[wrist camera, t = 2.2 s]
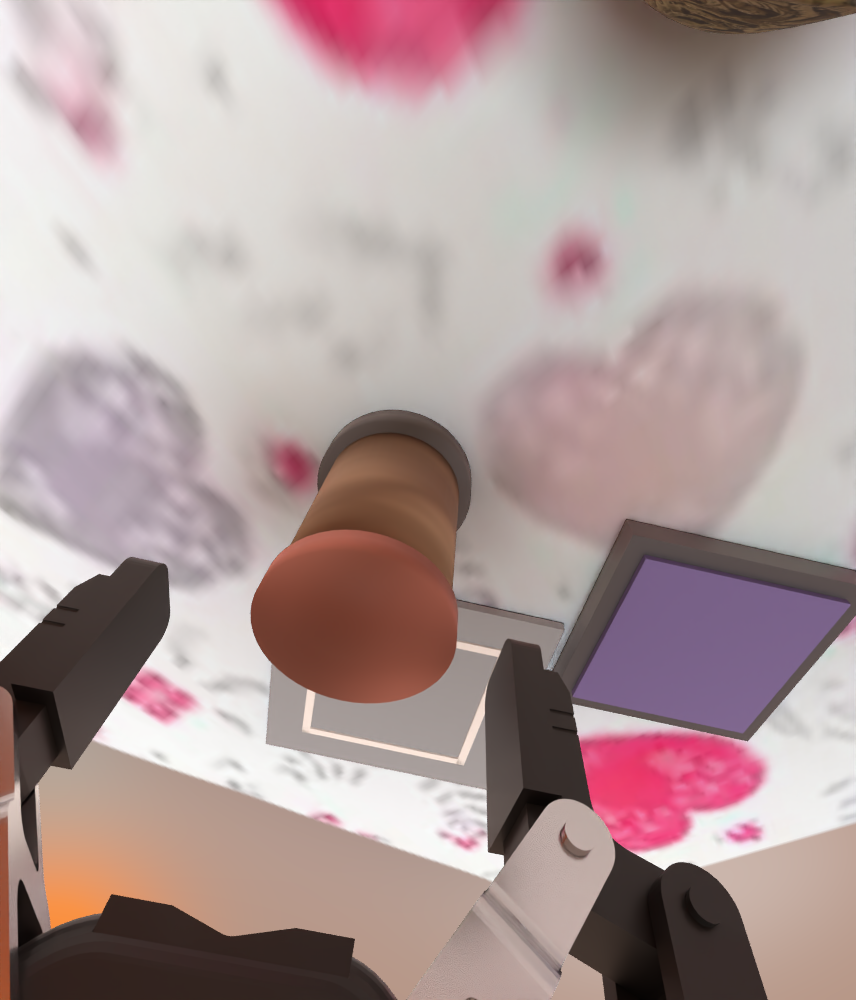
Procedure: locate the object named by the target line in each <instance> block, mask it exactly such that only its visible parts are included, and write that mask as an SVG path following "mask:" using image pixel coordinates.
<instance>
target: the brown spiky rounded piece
mask: <svg viewBox="0 0 856 1000" xmlns="http://www.w3.org/2000/svg"><path fill="white" fill-rule="evenodd" d="M644 1H645V2H646V3H647V4H648V5H649V6H651V7H652V8H653V9H655V10H656V11H658V12H659V13H661V14H662V15H664V16H666V17H667V18H669V19H672V20H674V21H676V22H678V23H681V24H683V25H685V26H687V27H691V28H694V29H698V30H702V31H706V32H714V33H723V34H744V33H761V32H767V31H774V30H780V29H785V28H791V27H797V26H801V25H806V24H811V23H815V22H820V21H824V20H828V19H832V18H837V17H841V16H845V15H849V14H853V13H856V0H644Z"/></svg>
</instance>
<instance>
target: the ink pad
mask: <svg viewBox="0 0 856 1000" xmlns="http://www.w3.org/2000/svg"><path fill="white" fill-rule="evenodd" d="M855 616H856V571H854V570H850V569H846V568H841V567H837V566H832V565H828V564H823V563H819V562H814V561H810V560H806V559H801V558H797V557H792V556H788V555H783V554H779V553H774V552H770V551H766V550H761V549H757V548H752V547H748V546H743V545H739V544H734V543H730V542H726V541H721V540H717V539H712V538H708V537H703V536H699V535H694V534H690V533H686V532H681V531H677V530H672V529H668V528H663V527H659V526H654V525H650V524H646V523H641V522H637V521H632V520H628V519H626V521H625V523H624V525H623V527H622V530H621V532H620V534H619V536H618V538H617V540H616V542H615V544H614V546H613V548H612V550H611V552H610V554H609V556H608V558H607V560H606V563H605V565H604V567H603V569H602V571H601V573H600V575H599V577H598V579H597V581H596V583H595V585H594V587H593V589H592V591H591V593H590V596H589V598H588V600H587V602H586V604H585V606H584V608H583V610H582V612H581V614H580V616H579V618H578V620H577V622H576V624H575V626H574V629H573V631H572V633H571V635H570V637H569V639H568V641H567V643H566V645H565V647H564V649H563V651H562V653H561V655H560V657H559V659H558V662H557V664H556V666H555V668H554V670H553V671H554V672H558V674H559V675H560V677H561V679H562V680H563V682H564V684H565V685H566V687H567V689H568V690H569V692H570V696H571V701H572V704H576V705H581V706H585V707H590V708H595V709H599V710H604V711H609V712H613V713H618V714H623V715H627V716H632V717H637V718H641V719H646V720H651V721H655V722H660V723H665V724H669V725H674V726H679V727H683V728H688V729H693V730H697V731H702V732H707V733H711V734H716V735H721V736H726V737H730V738H735V739H740V740H744V741H748V740H749V739H750V738H751V737H752V736H753V735H754V733H755V732H756V731H757V730H758V729H759V728H760V726H761V725H762V724H763V723H764V722H765V721H766V719H767V718H768V717H769V716H770V715H771V714H772V712H773V711H774V710H775V709H776V708H777V707H778V705H779V704H780V703H781V702H782V701H783V700H784V698H785V697H786V696H787V695H788V694H789V693H790V691H791V690H792V689H793V688H794V687H795V686H796V684H797V683H798V682H799V681H800V680H801V679H802V677H803V676H804V675H805V674H806V673H807V672H808V670H809V669H810V668H811V667H812V666H813V665H814V663H815V662H816V661H817V660H818V659H819V658H820V656H821V655H822V654H823V653H824V652H825V651H826V649H827V648H828V647H829V646H830V645H831V644H832V642H833V641H834V640H835V639H836V638H837V637H838V635H839V634H840V633H841V632H842V631H843V630H844V628H845V627H846V626H847V625H848V624H849V623H850V621H851V620H852V619H853V618H854V617H855Z"/></svg>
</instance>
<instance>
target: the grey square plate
mask: <svg viewBox="0 0 856 1000" xmlns="http://www.w3.org/2000/svg"><path fill="white" fill-rule="evenodd" d="M456 602H457V607H458V628H457V646H456V651H455V655H454V658H453V660H452V662H451V665H450V666H449V668H448V669H447V671H446V672H445V674H444V675H443V676H442V677H441V678H440V679H439V680H438V681H437V682H436V683H434V684H433V685H432V686H431V687H429V688H427V689H426V690H424V691H422V692H421V693H418V694H416V695H414V696H411V697H408V698H405V699H402V700H398V701H393V702H386V703H367V704H365V703H353V702H347V701H341V700H337V699H333V698H329V697H326V696H323V695H320V694H317V693H315V692H313V691H311V690H308V689H306V688H304V687H303V686H301V685H299V684H297V683H295V682H294V681H293V680H291V679H290V678H288V677H287V676H285V675H284V674H283V673H282V672H281V671H279V670H278V669H277V668H276V667H275V666H274V665H273V664H272V666H271V680H270V694H269V708H268V722H267V735H266V744H269V745H274V746H279V747H284V748H288V749H293V750H298V751H303V752H308V753H313V754H317V755H322V756H327V757H332V758H337V759H341V760H346V761H351V762H356V763H361V764H365V765H370V766H375V767H380V768H385V769H389V770H394V771H399V772H404V773H409V774H413V775H418V776H423V777H428V778H433V779H437V780H442V781H447V782H452V783H457V784H461V785H466V786H471V787H476V788H481V789H485V790H487V784H486V740H485V697H486V690H487V686H488V682H489V679H490V677H491V674H492V672H493V670H494V667H495V665H496V662H497V660H498V657H499V655H500V653H501V650H502V648H503V645H504V643H505V641H506V640H507V639H508V638H509V639H514V640H518V641H523V642H528V643H532V644H537V645H539V646H540V648H541V653H542V660H543V667H544V669H545V670H546V668H547V666H548V664H549V662H550V660H551V658H552V656H553V653H554V651H555V649H556V647H557V645H558V643H559V641H560V639H561V637H562V634H563V632H564V625H563V623H559V622H554V621H550V620H545V619H541V618H536V617H531V616H527V615H522V614H518V613H513V612H509V611H504V610H499V609H495V608H490V607H486V606H481V605H476V604H472V603H467V602H463V601H458V600H456Z"/></svg>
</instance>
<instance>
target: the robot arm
mask: <svg viewBox="0 0 856 1000" xmlns="http://www.w3.org/2000/svg"><path fill="white" fill-rule="evenodd" d="M169 618H170V600H169V581H168V568H167V566H166V565H165V564H163V563H158V562H153V561H149V560H144V559H139V558H135V557H130V558H128V559H126V560H125V561H124V562H123V563H122V564H121V565H120V566H119V567H118V568H117V569H116V570H115V572H114V573H113V574H112V575H111V576H106V575H101V574H98V575H97V576H95V577H93V578H91V579H89V580H87V581H85V582H84V583H82V584H80V585H78V586H76V587H74V588H73V589H72V590H71V591H70V592H69V593H68V595H67V596H66V597H65V598H64V599H63V600H62V601H61V602H60V603H59V604H58V605H57V608H56V609H55V608H54V609H53V610H52V611H51V612H50V613H49V614H48V615H47V616H46V617H45V618H44V619H43V621H42V623H39V624H38V625H37V626H36V627H35V628H34V629H33V630H32V631H31V632H30V633H29V634H28V635H27V636H26V637H25V638H24V639H23V640H22V641H21V642H20V643H19V644H18V645H17V646H16V647H15V648H14V649H13V650H12V651H11V652H10V653H9V654H8V655H7V656H6V657H5V658H4V659H3V660H2V661H1V662H0V1000H397V999H396V997H395V996H394V994H393V993H392V992H391V990H390V989H389V988H388V986H387V985H386V984H385V983H384V982H383V981H382V980H381V978H379V976H378V975H377V974H376V973H375V972H373V971H372V970H371V969H370V968H368V967H367V966H366V965H365V964H363V963H362V962H360V961H359V960H357V959H355V958H353V957H352V953H353V948H354V941H355V939H353V938H347V937H342V936H336V935H331V934H326V933H320V932H315V931H309V930H304V929H298V928H294V929H286V930H278V931H271V932H264V933H256V934H248V935H241V936H226V935H223V934H221V933H220V932H218V931H216V930H214V929H213V928H211V927H209V926H207V925H206V924H204V923H202V922H200V921H199V920H197V919H195V918H193V917H192V916H190V915H188V914H186V913H185V912H183V911H181V910H179V909H178V908H176V907H174V906H172V905H167V904H161V903H156V902H151V901H145V900H140V899H134V898H129V897H123V896H118V895H113V894H112V895H111V896H110V898H109V900H108V902H107V904H106V906H105V908H104V910H103V912H102V913H101V914H94V915H90V916H86V917H82V918H78V919H75V920H72V921H70V922H67V923H64V924H62V925H59V926H57V927H55V928H53V929H51V927H50V917H49V910H48V903H47V898H46V892H45V885H44V877H43V876H44V875H43V858H42V841H41V822H40V803H39V788H38V782H39V781H40V779H41V778H42V777H43V775H44V774H45V772H46V771H47V770H48V768H49V767H50V766H56V767H61V768H66V769H72V768H73V767H74V765H75V764H76V762H77V761H78V759H79V758H80V756H81V755H82V753H83V752H84V751H85V749H86V748H87V746H88V745H89V743H90V742H91V741H92V739H93V738H94V736H95V735H96V733H97V732H98V730H99V729H100V727H101V726H102V725H103V723H104V722H105V720H106V719H107V717H108V716H109V714H110V713H111V712H112V710H113V709H114V707H115V706H116V704H117V703H118V701H119V700H120V698H121V697H122V696H123V694H124V693H125V691H126V690H127V688H128V687H129V685H130V684H131V682H132V681H133V680H134V678H135V677H136V675H137V674H138V672H139V671H140V669H141V668H142V666H143V665H144V664H145V662H146V661H147V659H148V658H149V656H150V655H151V653H152V652H153V650H154V649H155V648H156V646H157V645H158V643H159V642H160V640H161V639H162V637H163V635H164V633H165V631H166V628H167V626H168V622H169ZM573 715H574V712H573V706H572V701H571V696H570V692H569V690H568V689H567V687H566V685H565V684H564V682H563V680H562V679H561V677H560V675H559V674H558V672H554V671H550V670H545V669H544V667H543V660H542V653H541V648H540V646H539V645H537V644H532V643H528V642H523V641H518V640H514V639H509V638H508V639H507V640H506V641H505V643H504V645H503V648H502V650H501V653H500V655H499V657H498V660H497V662H496V665H495V667H494V670H493V672H492V674H491V677H490V679H489V682H488V686H487V690H486V697H485V740H486V784H487V829H488V852H489V853H495V854H500V855H504V867H503V868H502V870H501V871H500V872H499V874H498V875H497V877H496V878H495V879H494V881H493V882H492V884H491V885H490V886H489V888H488V889H487V890H486V891H484V893H483V894H482V895H481V896H480V898H479V899H478V900H477V902H476V903H475V905H474V906H473V907H472V909H471V910H470V911H469V913H468V914H467V916H466V917H465V918H464V920H463V921H462V923H461V924H460V925H459V927H458V928H457V930H456V931H455V932H454V934H453V935H452V937H451V938H450V939H449V941H448V942H447V944H446V945H445V947H444V948H443V949H442V951H441V952H440V953H439V955H438V956H437V958H436V959H435V960H434V962H433V963H432V965H431V966H430V967H429V969H428V970H427V972H426V973H425V974H424V976H423V977H422V979H421V980H420V981H419V983H418V984H417V985H416V987H415V988H414V990H413V991H412V993H411V994H410V996H409V997H408V998H407V999H406V1000H550V999H551V997H552V995H553V993H554V991H555V989H556V987H557V985H558V982H559V980H560V977H561V973H562V972H561V967H562V965H563V963H564V961H565V958H566V957H567V955H568V953H569V954H570V955H572V956H574V957H575V958H577V959H578V960H580V961H582V962H583V963H585V964H587V965H588V966H590V967H591V968H593V969H595V970H596V971H598V972H599V973H601V974H602V977H603V985H604V994H605V1000H768V999H767V996H766V993H765V990H764V987H763V984H762V980H761V977H760V974H759V971H758V968H757V965H756V962H755V959H754V956H753V952H752V949H751V946H750V943H749V940H748V937H747V934H746V931H745V928H744V924H743V922H742V918H741V916H740V913H739V910H738V908H737V906H736V904H735V903H734V901H733V899H732V898H731V896H730V894H729V893H728V892H727V890H726V889H725V888H724V887H723V886H722V884H721V883H720V882H719V881H718V880H717V879H716V878H714V877H713V876H712V875H711V874H710V873H708V872H707V871H705V870H704V869H702V868H700V867H698V866H696V865H693V864H690V863H685V862H678V863H675V864H672V865H670V866H669V867H668V868H667V869H666V870H665V871H664V870H663V869H661V868H659V867H657V866H655V865H654V864H652V863H650V862H648V861H646V860H644V859H643V858H641V857H639V856H637V855H635V854H634V853H632V852H630V851H628V850H627V849H625V848H624V847H622V846H621V845H620V844H618V843H617V842H616V841H615V840H614V839H613V838H612V836H611V834H610V832H609V830H608V828H607V827H606V825H605V823H604V822H603V821H602V820H601V818H600V817H599V816H598V815H597V814H596V813H595V812H594V810H593V808H592V804H591V800H590V795H589V790H588V785H587V779H586V774H585V769H584V764H583V759H582V753H581V748H580V743H579V738H578V735H577V727H576V722H575V718H574V717H573Z"/></svg>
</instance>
